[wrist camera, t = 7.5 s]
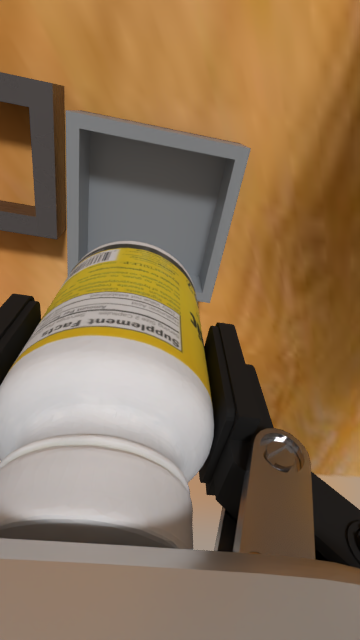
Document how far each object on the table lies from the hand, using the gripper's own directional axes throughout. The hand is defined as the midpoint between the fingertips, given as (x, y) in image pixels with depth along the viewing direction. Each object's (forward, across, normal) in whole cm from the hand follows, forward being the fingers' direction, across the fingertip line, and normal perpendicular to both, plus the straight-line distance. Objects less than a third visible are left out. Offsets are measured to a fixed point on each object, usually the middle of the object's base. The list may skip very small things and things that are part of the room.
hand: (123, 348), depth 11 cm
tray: (+19, 0, 0) cm, 19 cm away
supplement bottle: (+4, 0, 0) cm, 4 cm away
